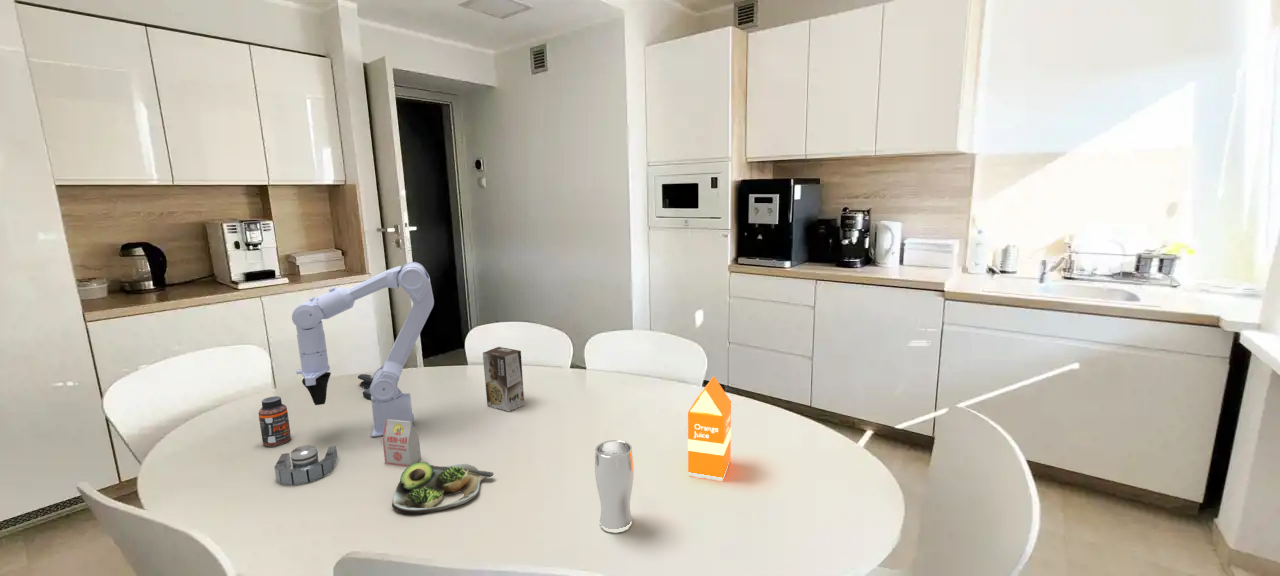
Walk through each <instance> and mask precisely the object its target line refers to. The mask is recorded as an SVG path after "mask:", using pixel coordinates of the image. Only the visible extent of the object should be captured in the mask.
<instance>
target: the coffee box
mask: <svg viewBox="0 0 1280 576" xmlns="http://www.w3.org/2000/svg"><path fill="white" fill-rule="evenodd" d="M482 361H483V369H484V371H483V372H484V382H485V393H486V405H489V406H492V407H491V408H493V407H496V408H495V409H497V408H499V409H498V410H500V409H503V410H502V411H504V410H506V412H508V411H510V412H512V411H514V410H516V409H518V408H517V407H519V406H521V407H522V405H523V404H524V405H525V392H524V379H523V365H522V362H523V361H522V351H521V350H520V349H519V350H518V349H513V348H508V347H507V348H506V347H502V346H497V347H495V348H494V347H493V348H492V349H488V350H487V351H484V352H482ZM524 405H523V406H524ZM489 406H488V407H489ZM519 408H520V407H519ZM513 409H514V410H513ZM511 410H512V411H511Z"/></svg>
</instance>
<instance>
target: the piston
mask: <svg viewBox="0 0 1280 576" xmlns="http://www.w3.org/2000/svg"><path fill="white" fill-rule="evenodd" d="M290 461H291V466H292V469H298V468H304V467H308V466H311V465H314V464H316V463H318V462H320V460H319V450H318V447H317V446H316V445H314V444H307V445H306V444H305V445H302V446H298V447H296V448H294V449H293V450H291V452H290Z"/></svg>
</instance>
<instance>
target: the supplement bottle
mask: <svg viewBox="0 0 1280 576" xmlns="http://www.w3.org/2000/svg"><path fill="white" fill-rule="evenodd" d="M258 421H259V426H260V432H261V441H262V445H264V446H265V447H276V446H281V445H283V444H286V443H287V442H289V441H290V440H291V436H292V435H291V428H290V420H289V413H288V408H287V405H286V404H283V403H282V397H281V396H279V395H277V396H276V395H275V396H269V397H265V398H263V399H262V400H261V408H260V409H259V410H258Z"/></svg>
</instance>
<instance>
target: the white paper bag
mask: <svg viewBox="0 0 1280 576" xmlns="http://www.w3.org/2000/svg"><path fill="white" fill-rule="evenodd" d="M382 446H383V458H384V464H386V465H391V466H392V465H393V466H399V467H400V466H401V467H408V466H410V465H412V464H414V463H416V462H420V461H421V460H422V455H421V444H420V434H419V433H418V431H417V430H416V428H415V426H414V422H413V423H412V422H410V421H400V420H391V419H387V420H385V429H384V434H383V435H382ZM420 459H421V460H420Z"/></svg>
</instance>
